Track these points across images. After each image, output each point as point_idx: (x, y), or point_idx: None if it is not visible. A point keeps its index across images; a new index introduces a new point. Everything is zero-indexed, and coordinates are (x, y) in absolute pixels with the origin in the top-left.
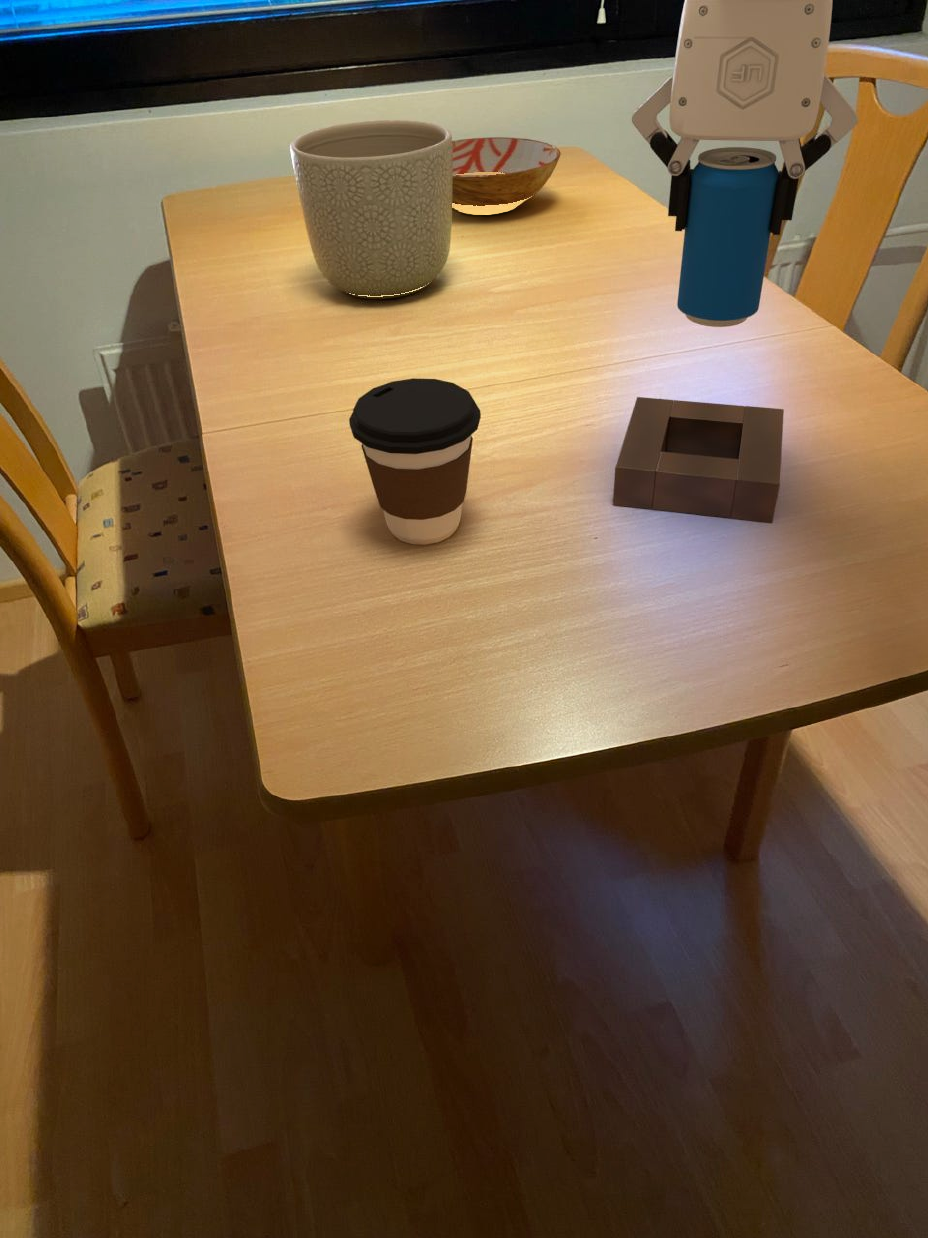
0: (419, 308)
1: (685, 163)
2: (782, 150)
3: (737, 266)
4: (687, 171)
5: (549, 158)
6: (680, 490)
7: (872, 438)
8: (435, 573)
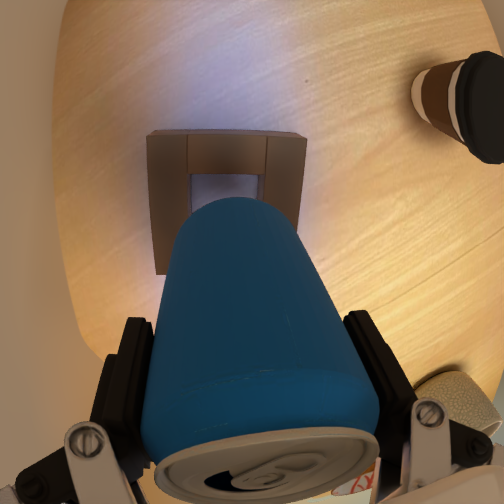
0: (419, 374)
1: (414, 427)
2: (127, 495)
3: (213, 242)
4: (391, 419)
5: (335, 489)
6: (239, 132)
7: (95, 279)
8: (413, 37)
